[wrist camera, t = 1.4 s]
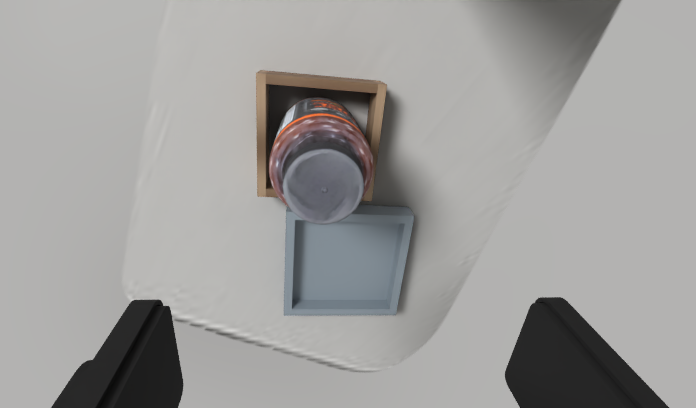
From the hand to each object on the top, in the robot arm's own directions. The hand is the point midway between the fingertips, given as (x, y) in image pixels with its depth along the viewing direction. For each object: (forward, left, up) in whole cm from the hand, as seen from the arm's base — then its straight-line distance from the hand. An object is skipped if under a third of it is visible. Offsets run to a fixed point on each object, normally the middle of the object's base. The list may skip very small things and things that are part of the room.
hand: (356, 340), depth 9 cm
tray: (+10, +3, -20) cm, 23 cm away
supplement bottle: (-1, 0, -21) cm, 21 cm away
